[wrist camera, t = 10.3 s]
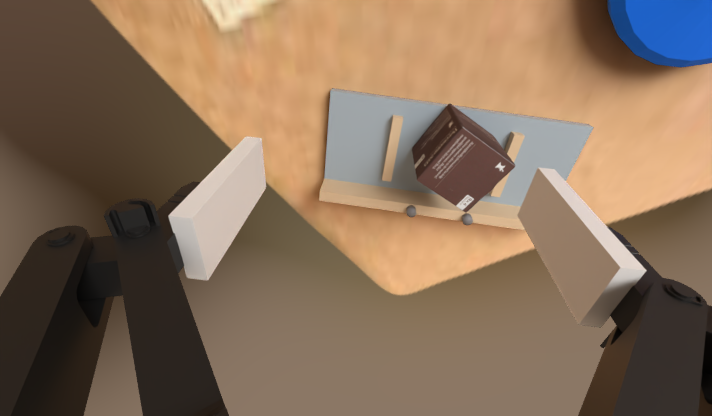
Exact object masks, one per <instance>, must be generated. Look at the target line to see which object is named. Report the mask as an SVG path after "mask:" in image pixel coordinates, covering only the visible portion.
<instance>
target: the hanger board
mask: <svg viewBox="0 0 712 416" xmlns="http://www.w3.org/2000/svg"><path fill="white" fill-rule="evenodd" d="M446 106H447V104H440V103H433V102H426V101H419V100H412V99H405V98H397V97H390V96H383V95H376V94H369V93H362V92H355V91H347V90H340V89H333V88H332V89H331V91H330V105H329V120H328V134H327V148H326V162H325V177H324V181H323V183H322V186H321V189H320V193H319V201H326V202H332V203H339V204H346V205H353V206H360V207H367V208H374V209H381V210H388V211H395V212H402V213H407V215H408V216H409V217H414V216H415V215H422V216H429V217H436V218H443V219H450V220H457V221H463V223H464V224H465V225H470V224H472V223H478V224H485V225H491V226H498V227H505V228H512V229H519V230H525V228H524V227H523V225H522V223H521V221H520V219H519V218H518V216H517V215H518V212H519V210H520V208H521V205H522V203H523V201H524V198H525V196H526V194H527V192H528V189H529V187H530V185H531V182H532V180H533V178H534V175H535V173H536V171H537V168H548V169H555V170H556V171H557V173H558V174H559V175H560V176H561V177H562V178H563V179H564V180H565V181H566V179H567V177H568V176H569V174H570V172H571V170H572V168H573V166H574V164H575V162H576V160H577V158H578V156H579V154H580V152H581V151H582V149H583V147H584V145H585V143H586V141H587V139H588V137H589V135H590V133H591V131H592V129H593V128H594V127H592V126H590V125H589V124H583V123H576V122H569V121H561V120H554V119H547V118H540V117H533V116H526V115H519V114H512V113H504V112H497V111H490V110H483V109H476V108H469V107H462V106H454V105H453V106H454V107H456V108H457V109H458V110H460V111H461V112H462V113H464V114H465V115H466V116H468V117H469V118H470V119H472V120H473V121H474V122H476V123H477V124H479V125H480V126H481V127H483V128H484V129H485V130H487V131H488V132H489V133H491V134H492V135H493V136H494V137H495V138H496V140H497V141H498V142H499V144H500V145H501V147H502V148H503V149H504V151H505V152H506V153H507V155H508V156H509V157H510V158H511V160H512V161H513V162H514V164H515V168H514V169H512V170H511V171H510V172H509V173H508V174H507V175H506V176H505V177H504V178H503V179H502V180H501V181H500V182H499V183H497V184H496V186H495V187H494V188H493V189H492V191H491V192H489V193H488V194H487V195H485V196H484V197H483V198H482V199H480V200H479V201H478V202H477V203H476V204H475V205H474V206H473V207H472V208H471V209H470V210H469V211H468V212H467V213H465V212H464V211H462V210H461V209H459V208H458V207H456V206H455V205H453V204H452V203H450V202H449V201H447V200H446V199H444V198H443V197H441V196H440V195H438V194H437V193H435V192H434V191H432V190H430V189H429V188H427V187H426V186H424V185H423V184H421V183H420V182H418V181H417V176H416V171H415V165H414V160H413V154H412V148H413V146H414V145H415V144H416V143H417V142H418V140H419V139H420V138H421V136H422V135H423V134H424V132H425V131H426V130H427V129H428V128H429V126H430V125H431V124H432V123H433V122H434V120H435V119H436V118H437V117H438V116H439V115H440V113H441V112H442V111H443V110H444V109H445V108H446Z"/></svg>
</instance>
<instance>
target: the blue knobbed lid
mask: <svg viewBox="0 0 712 416" xmlns="http://www.w3.org/2000/svg"><path fill="white" fill-rule="evenodd" d="M608 13H609V15H610V18H611V20H612V23H613V26H614V28H615V31H616V33H617V35H618V36H619V37H620V39H621V40H622V41H623V42H624V43H625V44H626V45H627V46H628V47H629V48H630V49H631V51H632V52H633V53H634V54H635V55H637V56H639V57H641V58H644V59H646V60H648V61H650V62H652V63H654V64H657V65H665V66H674V67H687V66H694V65H701V64H708V63H712V0H608Z"/></svg>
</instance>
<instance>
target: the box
mask: <svg viewBox="0 0 712 416" xmlns="http://www.w3.org/2000/svg"><path fill="white" fill-rule="evenodd" d="M412 154H413V160H414V165H415V171H416V176H417V181H418V182H420V183H421V184H423V185H424V186H426V187H427V188H429V189H430V190H432V191H434V192H435V193H437V194H438V195H440V196H441V197H443V198H444V199H446V200H447V201H449V202H450V203H452V204H453V205H455V206H456V207H458V208H459V209H461V210H462V211H464V212H465V213H467V212H468V211H469V210H470V209H471V208H472V207H473V206H474V205H475V204H476V203H477V202H478V201H479V200H480V199H482V198H483V197H484V196H485V195H487V194H488V193H489V192H491V191H492V189H493V188H494V187H495V186H496V184H497V183H499V182H500V181H501V180H502V179H503V178H504V177H505V176H506V175H507V174H508V173H509V172H510V171H511V170H512V169H514V168H515V164H514V162H513V161H512V160H511V158H510V157H509V156H508V155H507V153H506V152H505V151H504V149H503V148H502V147H501V145H500V144H499V142H498V141H497V140H496V138H495V137H494V136H493V135H492V134H491V133H489V132H488V131H487V130H485V129H484V128H483V127H481V126H480V125H479V124H477V123H476V122H474V121H473V120H472V119H470V118H469V117H468V116H466V115H465V114H464V113H462V112H461V111H460V110H458V109H457V108H456V107H454V106H453V105H452V104H448V105H447V106H446V108H445V109H444V110H443V111H442V112H441V113H440V115H439V116H438V117H437V118H436V119H435V120H434V122H433V123H432V124H431V125H430V126H429V128H428V129H427V130H426V131H425V132H424V134H423V135H422V136H421V138H420V139H419V140H418V142H417V143H416V144H415V145H414V146H413V148H412Z"/></svg>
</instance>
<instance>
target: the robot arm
mask: <svg viewBox="0 0 712 416" xmlns="http://www.w3.org/2000/svg"><path fill="white" fill-rule="evenodd" d="M265 188H266V181H265V170H264V159H263V148H262V138H256V137H245V138H244V139H243V140H242V141H241V142H240V143H239V144H238V145H237V146H236V147H235V148H234V149H233V150H232V151H231V152H230V153H229V154H228V155H227V156H226V157H225V158H224V159H223V160H222V161H221V163H219V164H218V165H217V166H216V167H215V169H214V170H213V171H212V172H211V173H210V174H209V175H208V176H207V177H206V178H205V179H204V180H203V181H202V182H192V183H190V184H187V185H185V186H183V187H181V188H180V189H179V190H178V191H177V192H176V193H175V194H174V196H172V197H171V198H170V199H169V200H168V202H166V203H165V204H164V205H163V206H161V208H159V209H158V210H157V211H156V209H155V206H154V204H153V203H152V202H151V201H149V200H147V199H130V200H125V201H123V202H119V203H117V204H115V205H113V206H111V207H110V208H109V209H108V210H106V212H105V214H104V217H105V220H106V222H107V224H108V227H109V229H110V231H111V233H112V236H103V237H92V238H90V236H89V234H88V232H87V230H85V229H84V228H83V227H80V226H65V227H60V228H56V229H54V230H50V231H48V232H46V233H44V234H43V235H41V236H39V237H38V238H37V239H36V240H35V241H34V242H33V244H32V245H31V247H30V249H29V250H28V252H27V254H26V255H25V257H24V259H23V260H22V262H21V263H20V265H19V267H18V268H17V270H16V272H15V274H14V275H13V277H12V278H11V280H10V282H9V283H8V285H7V287H6V288H5V290H4V291H3V293H2V295H1V296H0V416H83V415H84V411H85V407H86V404H87V400H88V396H89V392H90V388H91V384H92V380H93V376H94V372H95V369H96V365H97V361H98V357H99V353H100V349H101V345H102V341H103V338H104V333H105V330H106V325H107V322H108V318H109V314H110V310H111V306H112V302H113V299H114V296H121V295H123V298H124V304H125V310H126V316H127V322H128V328H129V334H130V340H131V346H132V352H133V358H134V364H135V370H136V376H137V382H138V388H139V394H140V400H141V406H142V412H143V416H229V414H228V412H227V409H226V407H225V405H224V402H223V399H222V396H221V394H220V391H219V388H218V385H217V382H216V379H215V377H214V374H213V371H212V368H211V365H210V362H209V360H208V357H207V354H206V351H205V348H204V346H203V343H202V340H201V338H200V334H199V331H198V329H197V326H196V323H195V320H194V317H193V315H192V312H191V309H190V306H189V303H188V300H187V298H186V295H185V292H184V289H183V286H182V283H181V280H180V278H179V275H178V273H179V272H180V270H181V269H182V267H183V266H184V269H185V273H186V276H187V278H192V279H200V280H208V279H209V278H210V276H211V275H212V273H213V272H214V270H215V268H216V267H217V265H218V263H219V262H220V260H221V259H222V257H223V256H224V254H225V252H226V251H227V249H228V248H229V246H230V244H231V243H232V241H233V240H234V238H235V236H236V234H237V233H238V232H239V230H240V228H241V227H242V225H243V224H244V222H245V220H246V219H247V217H248V216H249V214H250V213H251V211H252V209H253V208H254V206H255V204H256V203H257V201H258V200H259V198H260V196H261V195H262V193H263V192H264V190H265ZM517 216H518V218H519V219H520V221H521V223H522V225H523V227H524V228H525V230H526V232H527V234H528V236H529V237H530V239H531V241H532V243H533V244H534V246H535V248H536V250H537V252H538V253H539V255H540V257H541V259H542V260H543V262H544V264H545V266H546V268H547V269H548V271H549V273H550V275H551V276H552V278H553V280H554V282H555V284H556V286H557V287H558V289H559V291H560V293H561V294H562V296H563V298H564V300H565V301H566V303H567V305H568V307H569V309H570V311H571V312H572V314H573V316H574V318H575V319H576V321H577V323H578V325H583V326H591V327H599V328H601V327H602V326H603V325H604V323H605V322H606V321H607V319H608V318H609V317H610V316H611V317H612V319H613V320H614V322H615V323H616V325H617V326H616V327H615V329H614V330H613V331H612V332H611V333H610V335H609V336H608V337H607V338H606V339H605V340H604V342H603V343H602V344H601V345H600V346H601V347H602V348H604V347H605V346H606V347H605V349H604V352H603V354H602V357H601V359H600V362H599V364H598V367H597V369H596V372H595V374H594V377H593V379H592V382H591V385H590V387H589V389H588V392H587V395H586V397H585V400H584V402H583V405H582V407H581V410H580V412H579V415H578V416H712V306H709V305H707V303H706V301H705V300H704V299H703V297H701V295H699V294H698V293H697V292H696V291H694V290H693V289H691V288H690V287H688V286H686V285H684V284H682V283H680V282H677V281H674V280H671V279H666V278H662V277H661V276H660V275H659V274H658V273H657V272H656V271H655V270H654V269H653V267H651V265H650V264H649V263H648V262H647V261H646V260H645V259H644V258H643V257H642V256H641V255H639V254H638V251H637V250H635V248H634V247H631V244H630V243H629V242H628V241H627V240H626V239H625V238H624V237H623V236H622V235H621V234H619V233H618V232H616V231H615V230H613V229H612V228H610V227H607V226H606V225H605V224H604V223H603V222H602V221H601V220H600V219H599V218H598V217H597V215H596V214H595V213H594V212H593V211H592V210H591V209H590V208H589V207H588V206H587V204H586V203H585V202H584V201H583V200H582V199H581V198H580V197H579V196H578V195H577V193H576V192H575V191H574V190H573V189H572V188H571V187H570V186H569V185H568V184H567V182H566V181H565V180H564V179H563V178H562V177H561V176H560V175H559V174H558V173H557V171H556V170H555V169H548V168H537V171H536V173H535V175H534V178H533V180H532V182H531V185H530V187H529V189H528V192H527V194H526V196H525V198H524V201H523V203H522V205H521V208H520V210H519V212H518V215H517Z"/></svg>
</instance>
